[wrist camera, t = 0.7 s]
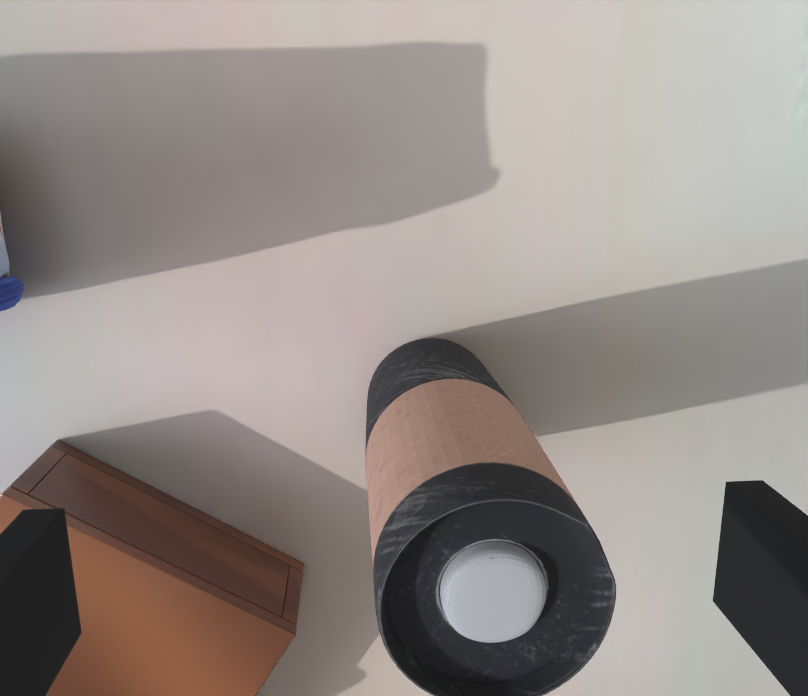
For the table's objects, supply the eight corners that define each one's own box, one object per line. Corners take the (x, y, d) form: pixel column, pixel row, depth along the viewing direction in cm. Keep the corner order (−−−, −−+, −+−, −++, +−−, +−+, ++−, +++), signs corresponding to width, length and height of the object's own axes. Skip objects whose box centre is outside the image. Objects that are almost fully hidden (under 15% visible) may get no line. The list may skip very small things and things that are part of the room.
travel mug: (345, 439, 42) (340, 682, 22) (386, 315, 40) (419, 462, 21) (469, 474, 43) (566, 734, 24) (514, 355, 41) (659, 530, 22)
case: (165, 777, 47) (139, 863, 41) (-73, 676, 44) (-137, 754, 38) (304, 563, 44) (297, 624, 38) (57, 439, 41) (9, 485, 35)
